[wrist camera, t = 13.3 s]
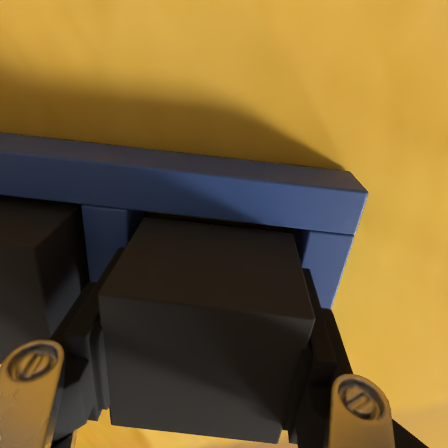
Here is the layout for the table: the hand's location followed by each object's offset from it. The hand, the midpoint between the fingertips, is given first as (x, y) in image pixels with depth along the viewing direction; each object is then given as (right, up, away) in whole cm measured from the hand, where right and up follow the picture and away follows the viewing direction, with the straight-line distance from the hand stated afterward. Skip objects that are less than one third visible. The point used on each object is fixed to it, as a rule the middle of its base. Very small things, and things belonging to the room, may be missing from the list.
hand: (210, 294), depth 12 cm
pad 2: (0, 0, +1) cm, 1 cm away
